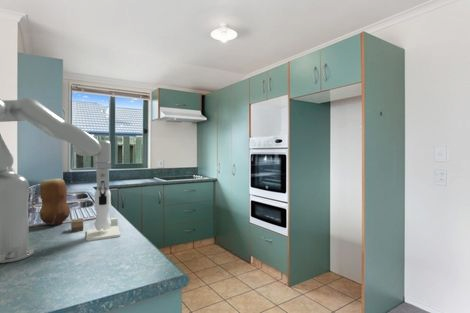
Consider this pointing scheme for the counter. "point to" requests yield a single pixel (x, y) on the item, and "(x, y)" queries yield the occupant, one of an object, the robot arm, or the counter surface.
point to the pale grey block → (114, 221)
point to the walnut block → (77, 225)
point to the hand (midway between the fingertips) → (102, 202)
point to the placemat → (102, 233)
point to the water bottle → (102, 212)
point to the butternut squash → (53, 201)
